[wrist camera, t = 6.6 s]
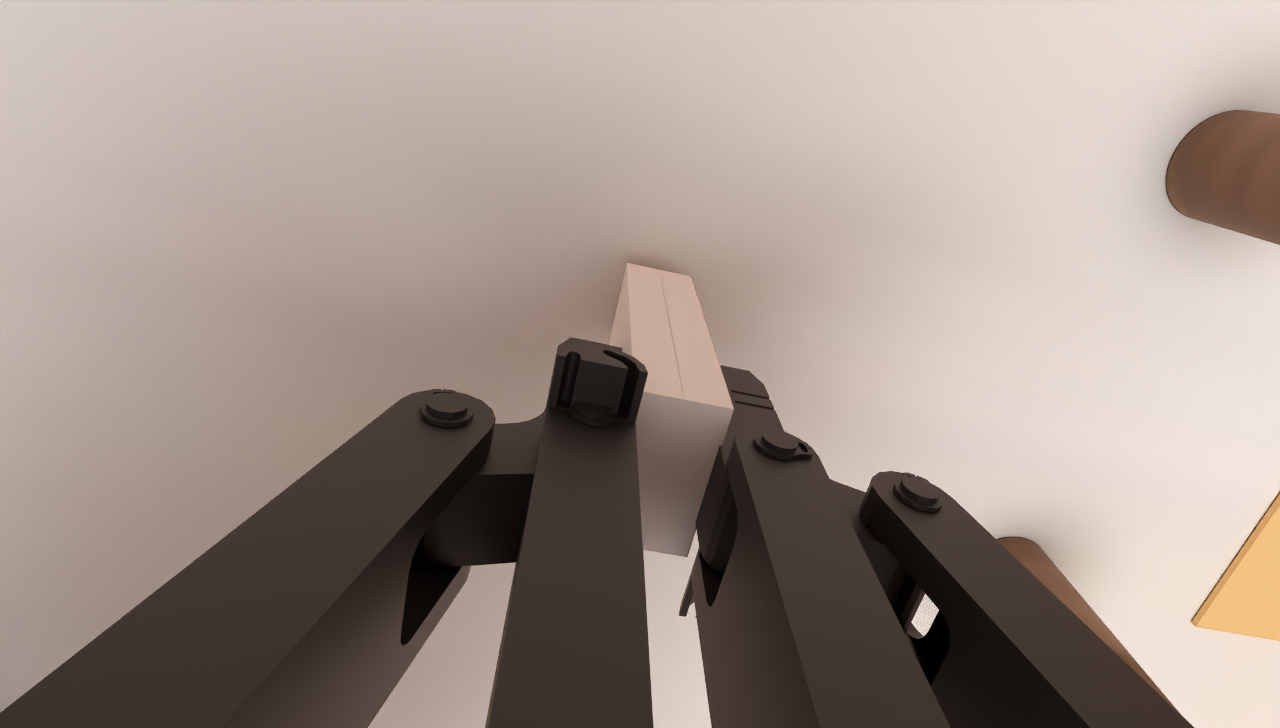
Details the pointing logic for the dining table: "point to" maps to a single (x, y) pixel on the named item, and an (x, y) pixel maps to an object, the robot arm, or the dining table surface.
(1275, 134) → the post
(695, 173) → the dining table surface
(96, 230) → the dining table surface
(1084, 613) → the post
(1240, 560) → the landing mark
